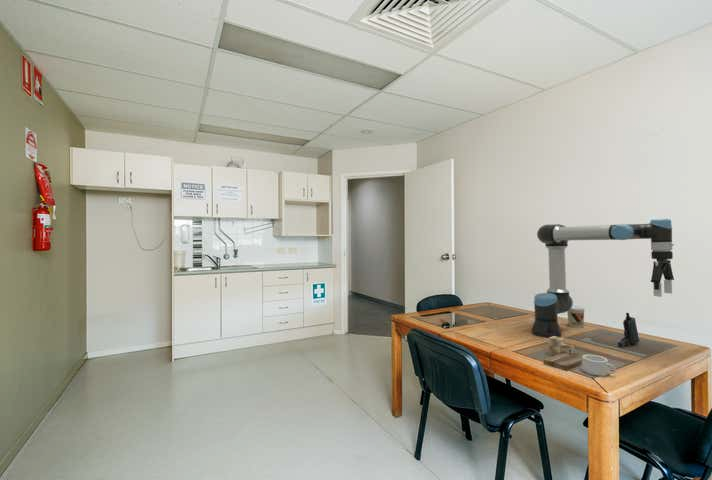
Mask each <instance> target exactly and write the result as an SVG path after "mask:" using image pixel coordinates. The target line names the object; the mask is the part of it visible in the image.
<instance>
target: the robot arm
mask: <svg viewBox="0 0 712 480" xmlns="http://www.w3.org/2000/svg"><path fill="white" fill-rule="evenodd" d="M536 236H537V238H538V241H540V242H541V243H543V244H545V248H546V249H547V251H548V274H549V275H548V276H549V277H548V278H549V283H548V284H549V288H548V289H547V290H546V292H543V293H542V292H541V293H540V292H539V293H537V294H535V296H534V298H533V299H534V300H533V303H534V305H533V307H534V321H533V325H532V328H531V333H532V335H535V336H538V337H543V338H549V337H552V336H556V337H561V336H562V329H561V328H560V324H559V322H558V314H564V313H567V311H568V310H570V309H571V308H572V306H574V305H573V304H574V302H573V301H574V300H573V297H571V295H570V291H569V290H568V289H567V279H566V278H567V277H566V273H567V272H566V252H565V251H566V249H567V248H568V247H569V246H568V242H569V241H609V240H611V241H613V240H614V241H615V240H616V241H617V240H619V241H626V240H643V239H644V240H645V239H646V240H647V239H648V240H650V250H651V253H650V254H651V255H650V256H651V259H652V260H653V262H652V263H653V267H652V274H651V279H650V283H653V285H652V286H653V287H652V288H653V297H660V298H661V297H662V296H663V293H665V294H671V295H672V294H673V283H672V282H673V281H674V280H675V278H674V273H673V269H672V265H671V260H672V259H673V256H674V255H673V251H672V250H673V247H674V246H675V244H674V243H673V227H672V220H671V219H670V218H655V219H651V220H650V222H649V223H632V224H631V223H628V224H627V223H626V224H625V223H619V224H603V225H602V224H601V225H583V226H580V225H579V226H566V225H563V224H544V225H542V226H540V227H539V229H538V230H537V232H536ZM654 260H655V261H654ZM662 277H663V278H664V280H663V291H662V282H661V281H662ZM662 292H663V293H662Z"/></svg>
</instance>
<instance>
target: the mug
mask: <svg viewBox="0 0 712 480" xmlns="http://www.w3.org/2000/svg"><path fill="white" fill-rule="evenodd" d="M582 355H583V357H582V365H580V367H581V370H582V371H583V372H584V373H585V374H588V375H592V376H597V377H606V376H608V375H612V374H615V373H616V371H617V370H616V367H615V366H614V365H613V364H611V363H609V361H608V359H607V358H606V357H604V356H601V355H596V354H582ZM610 367H611V368H612V369H613V370H612V371H610Z"/></svg>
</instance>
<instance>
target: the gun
mask: <svg viewBox="0 0 712 480" xmlns="http://www.w3.org/2000/svg"><path fill="white" fill-rule="evenodd" d="M625 315H626V316H625V319H624V320H623V321H622V322H623V323H622V324H623V330H624V331H623V335H624V337H623V338H621V339H620V341H618V342H617V345H618V348H621V349H623V348H624V346H626V347H628V346H629V345H631V346H635V345H636V344H637V343H639V342H641V340H640V338H639V333H638V328H637V324H636V322H637V321H636V318H635V317H632V316H630V313H629V312H626V313H625Z"/></svg>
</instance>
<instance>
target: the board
mask: <svg viewBox="0 0 712 480" xmlns="http://www.w3.org/2000/svg"><path fill="white" fill-rule="evenodd" d="M583 355H584V354H582V353H578V352H573V351H571V353H569V350H565V351H564V352H562V353H559V354H556V355H551V356H549V357H546V358H544V359H543V364H544V365H545V366H549V367H553V368H557V369H560V370H563V371H566V372H567V371H570V370H572V369H575V368H577V367H579V366H582V357H583Z"/></svg>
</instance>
